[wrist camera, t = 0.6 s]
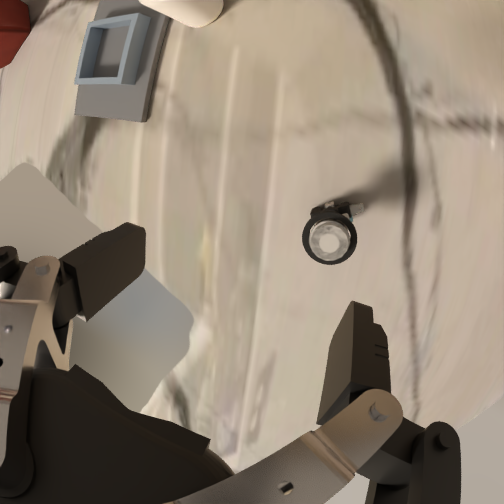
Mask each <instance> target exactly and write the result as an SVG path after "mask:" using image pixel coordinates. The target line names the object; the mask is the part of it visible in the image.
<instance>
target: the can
mask: <svg viewBox="0 0 504 504" xmlns="http://www.w3.org/2000/svg"><path fill="white" fill-rule="evenodd" d="M139 2H140V3H141V4H143V5H145V6H147V7H149V8H151V9H154V10H156V11H158V12H160V13H162V14H164V15H167V16H169V17H171V18H173V19H175V20H177V21H179V22H181V23H183V24H185V25H187V26H190V27H202V26H205V25H208V24H210V23H211V22H213V21H214V20H215V19H216V18H217V17H218V16H219V15H220V13H221V11H222V9H223V0H139Z"/></svg>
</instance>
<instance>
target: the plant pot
mask: <svg viewBox="0 0 504 504" xmlns="http://www.w3.org/2000/svg"><path fill="white" fill-rule="evenodd" d="M30 30H31V27H30V19H29V11H28V5H27V4H25V3H24V2H22V1H21V0H0V68H3V67H5V66H6V65H8V64H10V63H11V61H12V59H13V58H14V56H15V54H16V53H17V51H18V50H19V48H20V46H21V45H22V43H23V42H24V40H25V39H26V37H27V36H28V35H29V33H30Z"/></svg>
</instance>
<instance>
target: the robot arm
mask: <svg viewBox="0 0 504 504" xmlns="http://www.w3.org/2000/svg"><path fill="white" fill-rule="evenodd" d="M145 246H146V232H145V229H144V228H143V227H140V226H137V225H134V224H132V223H129V222H126V223H124V224H122V225H120V226H119V227H117V228H115V229H113V230H111V231H108V232H104V233H101V234H99V235H98V236H96V237H94V238H93V239H92V240H89V241H87V242H86V243H85V244H82V245H81V246H79V247H77V248H76V249H74V250H72V251H71V252H69V253H68V254H66V255H64V256H63V257H61V258H60V259H57V258H56V257H53V256H40V257H37V258H35V259H33V260H31V261H30V262H29V263H26V262H22V261H19V259H18V254H17V250H16V248H14V247H12V246H4V247H0V504H324V503H325V502H326V501H328V500H329V499H330V498H331V497H333V496H334V495H335V494H336V493H337V492H339V491H340V490H341V489H342V488H343V487H344V486H345V485H347V483H349V482H350V481H351V480H352V479H353V478H354V476H355V474H354V473H355V472H356V473H358V474H360V475H363V476H364V477H366V478H368V479H370V482H369V487H368V492H367V496H366V501H365V504H460V498H461V453H460V440H459V437H458V435H457V433H456V431H455V430H454V428H453V427H451V426H450V425H449V424H447V423H445V422H440V421H438V422H434V423H432V424H430V425H429V426H428V427H427V428H426V429H425V428H423V427H421V426H419V425H417V424H415V423H413V422H411V421H409V420H408V419H406V418H404V417H403V410H402V407H401V405H400V403H399V401H398V400H397V399H396V398H395V397H394V396H393V395H392V394H391V381H390V365H389V360H388V358H389V352H388V341H387V336H386V334H385V332H384V330H383V328H382V326H381V325H379V324H376V323H374V322H373V309H372V307H370V306H367V305H364V304H361V303H358V302H355V301H351V302H350V304H349V306H348V308H347V310H346V312H345V314H344V316H343V318H342V319H341V321H340V323H339V325H338V327H337V329H336V331H335V333H334V335H333V338H332V340H331V343H330V347H329V353H328V360H327V367H326V373H325V379H324V385H323V391H322V396H321V402H320V407H319V412H318V417H317V422H316V424H318V425H322V426H321V427H320V428H318V429H317V430H315V431H309V432H307V433H305V434H304V435H302V436H301V437H299V438H297V439H296V440H294V441H293V442H291V443H290V444H288V445H287V446H285V447H283V448H282V449H280V450H278V451H277V452H275V453H273V454H272V455H270V456H268V457H267V458H265V459H263V460H261V461H260V462H258V463H256V464H254V465H252V466H250V467H249V468H247V469H245V470H243V471H241V472H239V473H237V474H234V472H233V471H232V470H231V468H230V467H229V466H228V465H227V464H226V463H225V462H224V460H222V459H221V458H220V457H219V456H218V455H217V454H215V453H214V452H213V451H211V450H210V449H209V444H210V440H211V439H209V438H206V437H204V436H202V435H199V434H197V433H195V432H192V431H190V430H188V429H186V428H184V427H181V426H179V425H177V424H175V423H173V422H170V421H166V420H162V419H158V418H155V417H151V416H147V415H144V414H140V413H137V412H134V411H131V410H129V409H128V408H126V407H125V406H124V405H123V404H122V403H121V402H120V401H119V400H118V399H117V398H116V397H115V396H114V395H113V393H112V392H111V391H110V390H109V389H108V388H107V387H106V386H105V385H104V384H103V383H102V382H101V381H99V380H98V379H96V378H95V377H93V376H92V375H90V374H89V373H87V372H86V371H84V370H83V369H82V368H80V367H79V366H78V365H76V364H75V365H74V366H73V367H72V368H71V369H70V370H69V354H70V346H71V338H72V330H73V320H72V318H73V317H75V316H78V317H79V318H81V319H82V320H84V321H85V322H87V321H88V320H89V319H90V318H92V317H93V316H94V315H95V314H96V313H97V312H98V311H99V310H101V309H102V308H103V307H104V306H105V305H106V304H107V303H109V302H110V301H111V300H112V299H113V298H114V297H115V296H117V295H118V294H119V293H120V292H121V291H122V290H124V289H125V288H126V287H127V286H128V285H129V284H131V283H132V282H133V281H134V280H135V279H137V278H138V277H139V276H140V275H141V273H142V272H143V269H144V266H145Z"/></svg>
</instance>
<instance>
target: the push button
mask: <svg viewBox="0 0 504 504" xmlns="http://www.w3.org/2000/svg"><path fill="white" fill-rule="evenodd" d="M329 203H330V204H329ZM359 208H360V209H359ZM360 210H361V211H360ZM364 211H365V210H364V206H363V204H362V203H361V204H357V205H354V204H352V205H349V203H348V202H344V203H342V204H340V205H337V206H334V201H332V202H328V203H325V209H320V207H317V208H313V209H312V211H311V213H310V215H311V219H310V220H309V221H308V222H307V224H306V225H305V227H304V230H303V234H302V242H303V246H304V248H305V250H306V252H307V253H308V255H309V256H310V257H311V258H312V259H314V260H315V261H317V262H319V263H322V264H327V265H334V264H339V263H341V262H344V261H345V260H347V259H348V258H349V257H350V256H351V255H352V254H353V252H354V250H355V248H356V245H357V233H356V229H355V227H354V225H353V224H352V222H353V218H352V216H353V215H356V213H360V212H364ZM313 225H314V228H313V229H312V231H311V233H310V229H311V228H312V226H313ZM348 229H349V231H350V234H351V237H350V236H349V233H348Z"/></svg>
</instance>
